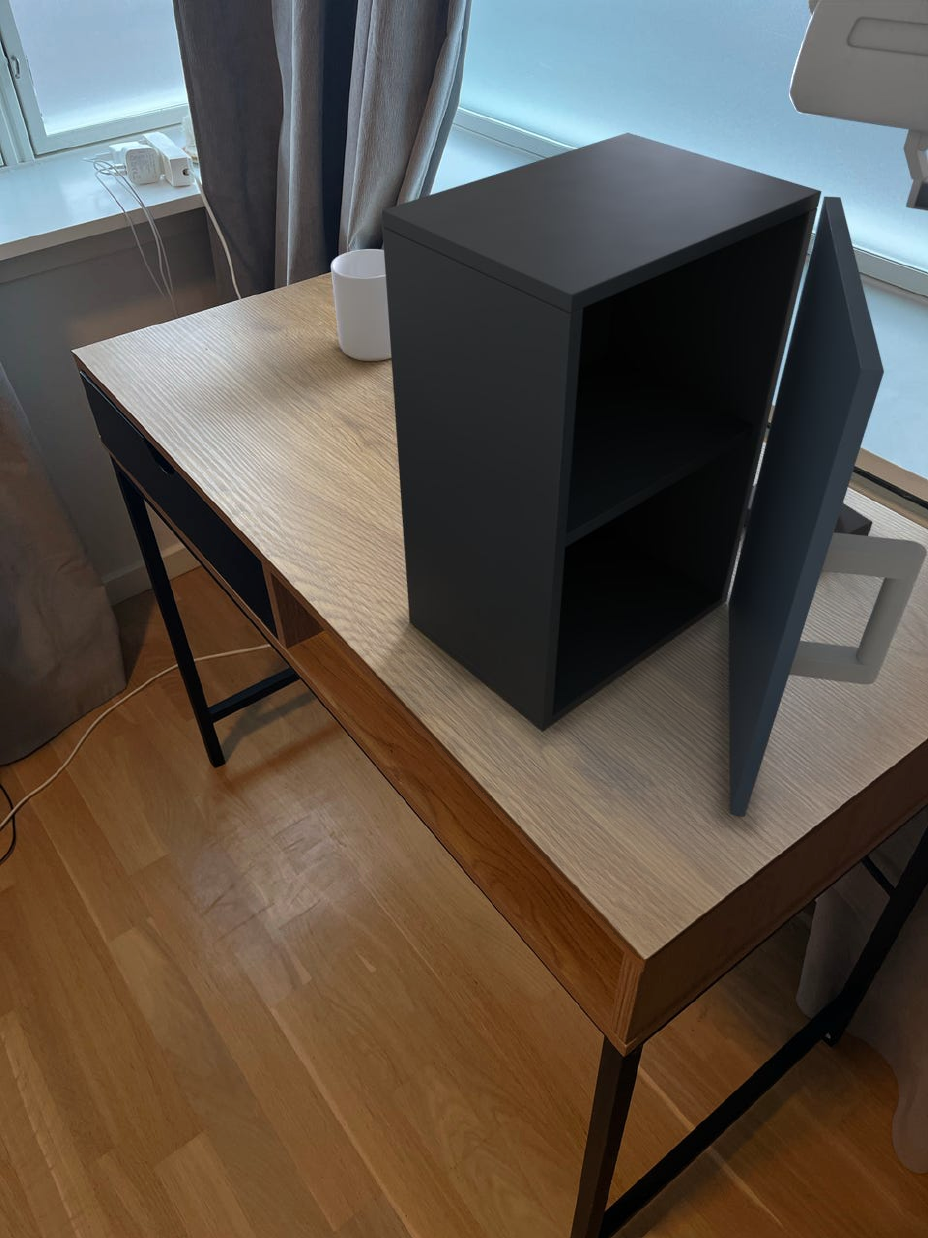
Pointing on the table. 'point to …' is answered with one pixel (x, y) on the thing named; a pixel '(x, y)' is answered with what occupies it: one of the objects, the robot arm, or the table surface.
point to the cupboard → (584, 403)
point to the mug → (362, 304)
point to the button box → (839, 520)
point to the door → (810, 510)
